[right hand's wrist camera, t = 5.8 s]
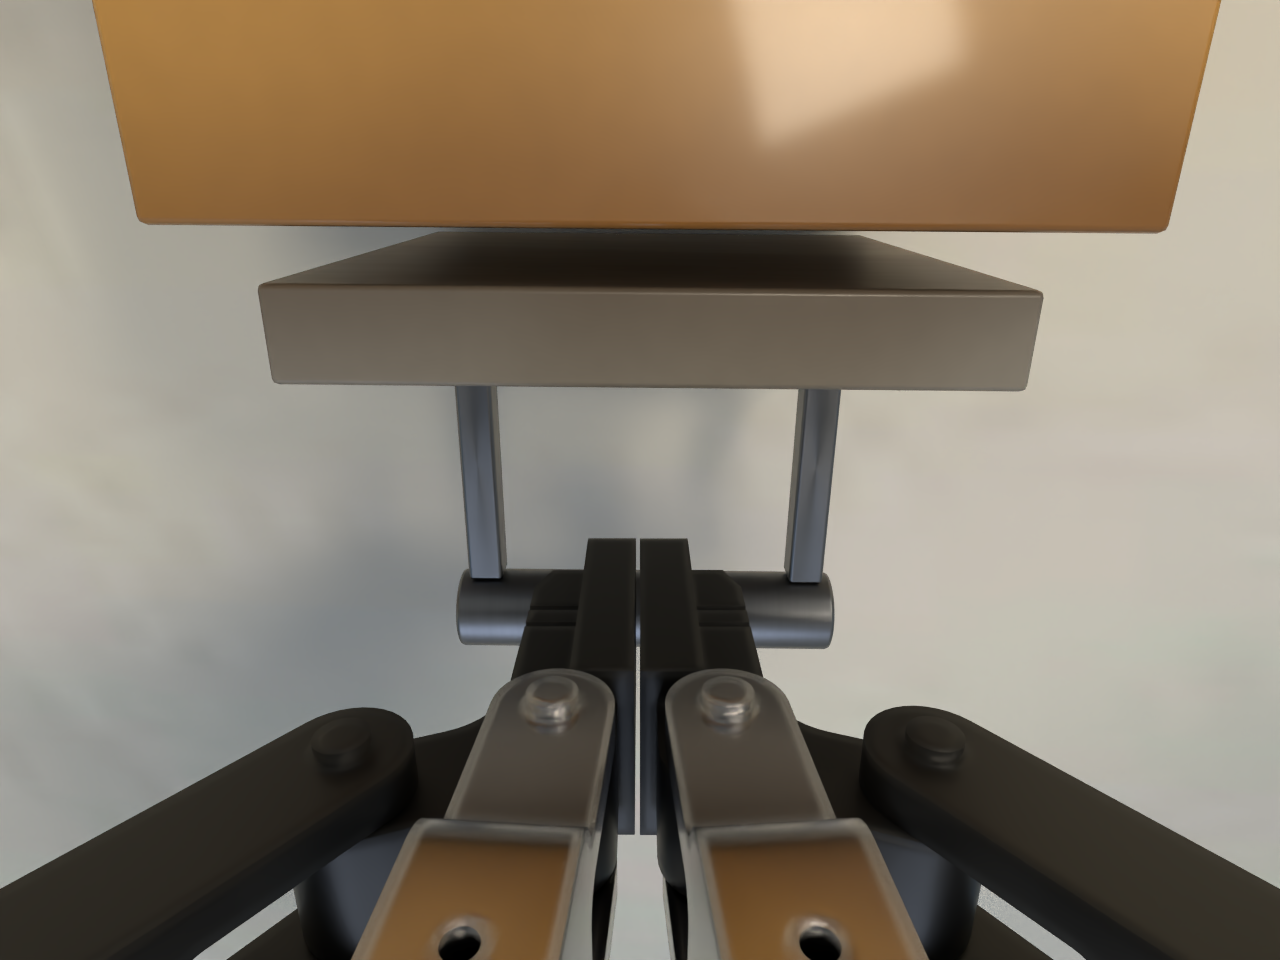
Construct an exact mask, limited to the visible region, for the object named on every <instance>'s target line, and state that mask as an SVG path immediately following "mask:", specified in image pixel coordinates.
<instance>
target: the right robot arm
mask: <svg viewBox="0 0 1280 960" xmlns="http://www.w3.org/2000/svg"><path fill="white" fill-rule="evenodd" d="M635 728H636V538H589V539H588V544H587V551H586V558H585V565H584V570H553V571H551V572H550V573H549V574H548V575H547V576H546V577H545V578H544V579H543V580H542V581H541V582H539V583H538V584H537V585H536V586H535V588H534V592H533V596H532V600H531V604H530V610H529V611H528V615H527V619H526V626H525V627H524V631H523V635H522V639H521V642H520V646H519V650H518V654H517V658H516V662H515V666H514V670H513V673H512V677H511V681H510V682H508V683H507V684H505V685H504V686H503V687H502V688H500V689H499V691H498V692H497V693H496V694H495V696H494V697H493V699H492V701H491V703H490V706H489V708H488V711H487V713H486V715H485V716H484V717H482V718H480V719H479V720H477V721H475V722H473V723H470V724H468V725H466V726H463V727H460V728H457V729H454V730H450V731H446V732H442V733H437V734H432V735H428V736H423V737H419V738H414V739H413V732H412V730H411V727H410V725H409V724H408V723H407V721H406V720H404V719H403V718H402V717H401V716H399V715H397V714H395V713H393V712H390V711H387V710H384V709H378V708H351V709H345V710H339V711H336V712H332V713H328V714H326V715H323V716H320V717H317V718H315V719H313V720H311V721H309V722H307V723H305V724H303V725H301V726H299V727H298V728H296V729H294V730H292V731H290V732H288V733H287V734H285V735H283V736H281V737H279V738H277V739H276V740H274V741H272V742H270V743H268V744H266V745H264V746H263V747H261V748H259V749H257V750H255V751H253V752H252V753H250V754H248V755H246V756H244V757H242V758H241V759H239V760H237V761H235V762H233V763H231V764H229V765H228V766H226V767H224V768H222V769H220V770H218V771H217V772H215V773H213V774H211V775H209V776H207V777H206V778H204V779H202V780H200V781H198V782H196V783H194V784H193V785H191V786H189V787H187V788H185V789H183V790H182V791H180V792H178V793H176V794H174V795H172V796H171V797H169V798H167V799H165V800H163V801H161V802H159V803H158V804H156V805H154V806H152V807H150V808H148V809H147V810H145V811H143V812H141V813H139V814H137V815H136V816H134V817H132V818H130V819H128V820H126V821H124V822H123V823H121V824H119V825H117V826H115V827H113V828H112V829H110V830H108V831H106V832H104V833H102V834H101V835H99V836H97V837H95V838H93V839H91V840H90V841H88V842H86V843H84V844H82V845H80V846H78V847H77V848H75V849H73V850H71V851H69V852H67V853H66V854H64V855H62V856H60V857H58V858H56V859H55V860H53V861H51V862H49V863H47V864H45V865H43V866H42V867H40V868H38V869H36V870H34V871H32V872H31V873H29V874H27V875H25V876H23V877H21V878H20V879H18V880H16V881H14V882H12V883H10V884H8V885H7V886H5V887H3V888H1V889H0V960H193V959H194V958H195V957H196V956H197V955H199V954H200V953H201V952H203V951H204V950H205V949H207V948H208V947H210V946H211V945H213V944H214V943H215V942H217V941H218V940H220V939H221V938H223V937H224V936H225V935H227V934H228V933H230V932H231V931H233V930H234V929H235V928H237V927H238V926H240V925H241V924H243V923H244V922H245V921H247V920H248V919H250V918H251V917H253V916H254V915H255V914H257V913H258V912H260V911H261V910H263V909H264V908H265V907H267V906H268V905H270V904H271V903H273V902H274V901H275V900H277V899H278V898H280V897H281V896H283V895H284V894H286V893H287V892H288V891H290V890H291V889H294V894H295V899H296V904H297V909H296V910H295V911H293V912H292V913H291V914H289V915H288V916H286V917H285V918H284V919H282V920H281V921H280V922H278V923H277V924H275V925H274V926H273V927H271V928H270V929H268V930H267V931H266V932H264V933H263V934H262V935H260V936H259V937H257V938H256V939H255V940H253V941H252V942H250V943H249V944H248V945H246V946H245V947H244V948H242V949H241V950H239V951H238V952H237V953H235V954H234V955H232V956H231V957H230V958H228V959H227V960H609V958H610V950H611V942H612V934H613V925H614V917H615V909H616V901H617V839H618V835H635ZM640 835H657V857H658V865H659V867H660V870H661V873H662V874H663V901H664V909H665V917H666V925H667V934H668V942H669V950H670V958H671V960H1053V959H1052V958H1050V957H1049V956H1048V955H1046V954H1045V953H1043V952H1042V951H1041V950H1039V949H1038V948H1036V947H1035V946H1034V945H1032V944H1031V943H1030V942H1028V941H1027V940H1025V939H1024V938H1023V937H1021V936H1020V935H1018V934H1017V933H1016V932H1014V931H1013V930H1012V929H1010V928H1009V927H1007V926H1006V925H1005V924H1003V923H1002V922H1000V921H999V920H998V919H996V918H995V917H994V916H992V915H991V914H989V913H988V912H987V911H985V910H984V909H982V908H981V907H980V906H978V905H977V903H978V898H979V892H980V887H981V884H982V885H983V886H984V887H986V888H987V889H989V890H990V891H992V892H993V893H994V894H996V895H997V896H999V897H1000V898H1002V899H1003V900H1004V901H1006V902H1007V903H1009V904H1010V905H1012V906H1013V907H1015V908H1016V909H1017V910H1019V911H1020V912H1022V913H1023V914H1025V915H1026V916H1027V917H1029V918H1030V919H1032V920H1033V921H1035V922H1036V923H1037V924H1039V925H1040V926H1042V927H1043V928H1045V929H1046V930H1047V931H1049V932H1050V933H1052V934H1053V935H1055V936H1056V937H1057V938H1059V939H1060V940H1062V941H1063V942H1065V943H1066V944H1067V945H1069V946H1070V947H1072V948H1073V949H1074V950H1076V951H1077V952H1078V953H1080V954H1081V955H1082V956H1083V957H1084V958H1085V959H1086V960H1280V889H1279V888H1277V887H1275V886H1273V885H1272V884H1270V883H1268V882H1266V881H1264V880H1262V879H1260V878H1259V877H1257V876H1255V875H1253V874H1251V873H1249V872H1248V871H1246V870H1244V869H1242V868H1240V867H1238V866H1237V865H1235V864H1233V863H1231V862H1229V861H1227V860H1225V859H1224V858H1222V857H1220V856H1218V855H1216V854H1214V853H1213V852H1211V851H1209V850H1207V849H1205V848H1203V847H1202V846H1200V845H1198V844H1196V843H1194V842H1192V841H1190V840H1189V839H1187V838H1185V837H1183V836H1181V835H1179V834H1178V833H1176V832H1174V831H1172V830H1170V829H1168V828H1167V827H1165V826H1163V825H1161V824H1159V823H1157V822H1155V821H1154V820H1152V819H1150V818H1148V817H1146V816H1144V815H1143V814H1141V813H1139V812H1137V811H1135V810H1133V809H1132V808H1130V807H1128V806H1126V805H1124V804H1122V803H1120V802H1119V801H1117V800H1115V799H1113V798H1111V797H1109V796H1108V795H1106V794H1104V793H1102V792H1100V791H1098V790H1097V789H1095V788H1093V787H1091V786H1089V785H1087V784H1085V783H1084V782H1082V781H1080V780H1078V779H1076V778H1074V777H1073V776H1071V775H1069V774H1067V773H1065V772H1063V771H1062V770H1060V769H1058V768H1056V767H1054V766H1052V765H1050V764H1049V763H1047V762H1045V761H1043V760H1041V759H1039V758H1038V757H1036V756H1034V755H1032V754H1030V753H1028V752H1027V751H1025V750H1023V749H1021V748H1019V747H1017V746H1015V745H1014V744H1012V743H1010V742H1008V741H1006V740H1004V739H1003V738H1001V737H999V736H997V735H995V734H993V733H992V732H990V731H988V730H986V729H984V728H982V727H981V726H979V725H977V724H975V723H973V722H971V721H969V720H967V719H965V718H963V717H961V716H959V715H956V714H953V713H951V712H948V711H944V710H940V709H936V708H930V707H923V706H901V707H895V708H891V709H888V710H884V711H882V712H880V713H878V714H877V715H875V716H874V717H873V718H872V719H871V720H870V721H869V722H868V724H867V725H866V728H865V730H864V737H863V739H859V738H854V737H850V736H845V735H840V734H836V733H831V732H827V731H823V730H820V729H816V728H813V727H811V726H808V725H805V724H803V723H801V722H799V721H797V720H796V718H795V716H794V713H793V711H792V708H791V706H790V703H789V701H788V699H787V697H786V696H785V694H784V693H783V692H782V691H781V689H780V688H778V687H777V686H776V685H775V684H773V683H772V682H770V681H769V680H767V679H765V678H763V675H762V671H761V667H760V662H759V658H758V654H757V650H756V646H755V642H754V638H753V634H752V630H751V627H750V622H749V618H748V614H747V610H746V606H745V602H744V598H743V594H742V590H741V587H740V586H739V585H738V584H737V583H736V582H735V581H734V580H733V579H732V578H731V577H730V576H729V575H727V574H726V573H725V572H724V571H723V570H692V569H691V561H690V554H689V546H688V539H640Z"/></svg>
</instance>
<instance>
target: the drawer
mask: <svg viewBox="0 0 1280 960" xmlns="http://www.w3.org/2000/svg"><path fill="white" fill-rule="evenodd" d="M258 294H259V301H260V307H261V313H262V319H263V325H264V331H265V338H266V344H267V350H268V356H269V362H270V369H271V375H272V379H273V381H274V382H275V383H278V384H319V385H422V386H455V395H456V408H457V421H458V433H459V446H460V459H461V472H462V485H463V498H464V511H465V523H466V536H467V549H468V562H469V569H466V570H465V571H464V572H463V574H462V577H461V579H460V583H459V587H458V593H457V604H456V622H457V631H458V635H459V639H460V641H461V643H463V644H465V645H520V642H521V639H522V635H523V631H524V627H525V626H526V619H527V615H528V611H529V610H530V604H531V600H532V596H533V592H534V588H535V586H536V585H537V584H538V583H539V582H541V581H542V580H543V579H544V578H545V577H546V576H547V575H548V574H549V573H550V572H551V571H553V570H582V569H505V568H506V565H507V554H506V536H505V519H504V502H503V485H502V468H501V451H500V434H499V416H498V399H497V386H524V387H626V388H728V389H799V390H798V402H797V414H796V426H795V439H794V451H793V463H792V476H791V488H790V500H789V512H788V525H787V537H786V549H785V561H784V568H785V571H786V572H764V571H724V572H725V573H726V574H727V575H729V576H730V577H731V578H732V579H733V580H734V581H735V582H736V583H737V584H738V585H739V586H740V587H741V590H742V594H743V598H744V602H745V606H746V610H747V614H748V618H749V622H750V627H751V630H752V634H753V638H754V642H755V646H756V648H787V649H825V648H827V647H829V645H830V643H831V640H832V636H833V630H834V598H833V591H832V586H831V583H830V580H829V577H828V576H827V574H825V573H823V564H824V554H825V544H826V534H827V524H828V514H829V504H830V494H831V485H832V475H833V465H834V455H835V445H836V435H837V425H838V415H839V405H840V396H841V390H933V391H1022V390H1025V388H1026V387H1027V383H1028V377H1029V372H1030V367H1031V361H1032V356H1033V351H1034V345H1035V340H1036V335H1037V329H1038V324H1039V318H1040V313H1041V308H1042V302H1043V293H1042V292H1040V291H1038V290H1035V289H1032V288H1029V287H1026V286H1022V285H1019V284H1016V283H1013V282H1009V281H1006V280H1003V279H1000V278H996V277H993V276H990V275H987V274H983V273H980V272H977V271H974V270H970V269H967V268H964V267H961V266H957V265H954V264H951V263H948V262H944V261H941V260H938V259H934V258H931V257H928V256H925V255H921V254H918V253H915V252H912V251H908V250H905V249H902V248H899V247H895V246H892V245H889V244H886V243H882V242H879V241H876V240H873V239H869V238H866V237H863V236H860V235H748V234H634V233H520V232H436V233H433V234H429V235H426V236H422V237H419V238H416V239H412V240H409V241H405V242H402V243H399V244H395V245H392V246H388V247H385V248H382V249H378V250H375V251H371V252H368V253H365V254H361V255H358V256H354V257H351V258H348V259H344V260H341V261H337V262H334V263H331V264H327V265H324V266H320V267H317V268H314V269H310V270H307V271H303V272H300V273H297V274H293V275H290V276H286V277H283V278H280V279H276V280H273V281H269V282H266V283H263V284H261V285H259V287H258ZM636 647H640V570H636Z"/></svg>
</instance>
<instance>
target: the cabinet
mask: <svg viewBox="0 0 1280 960" xmlns="http://www.w3.org/2000/svg"><path fill="white" fill-rule="evenodd" d="M92 2H93V7H94V12H95V17H96V22H97V26H98V31H99V36H100V41H101V46H102V50H103V55H104V60H105V65H106V70H107V74H108V79H109V84H110V89H111V94H112V98H113V103H114V108H115V113H116V118H117V122H118V127H119V132H120V137H121V142H122V146H123V151H124V156H125V161H126V166H127V170H128V175H129V180H130V185H131V190H132V194H133V199H134V204H135V209H136V214H137V217H138V219H139V221H140V222H143V223H145V224H148V225H242V226H357V227H471V228H586V229H700V230H815V231H929V232H1044V233H1159V232H1162V231H1165V230H1166V228H1167V227H1168V224H1169V220H1170V216H1171V212H1172V207H1173V203H1174V199H1175V195H1176V190H1177V186H1178V182H1179V178H1180V173H1181V169H1182V165H1183V161H1184V156H1185V152H1186V148H1187V144H1188V139H1189V135H1190V131H1191V126H1192V122H1193V118H1194V114H1195V109H1196V105H1197V101H1198V97H1199V92H1200V88H1201V84H1202V80H1203V75H1204V71H1205V67H1206V63H1207V58H1208V54H1209V50H1210V46H1211V41H1212V37H1213V33H1214V29H1215V24H1216V20H1217V16H1218V12H1219V7H1220V3H1221V0H92Z"/></svg>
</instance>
